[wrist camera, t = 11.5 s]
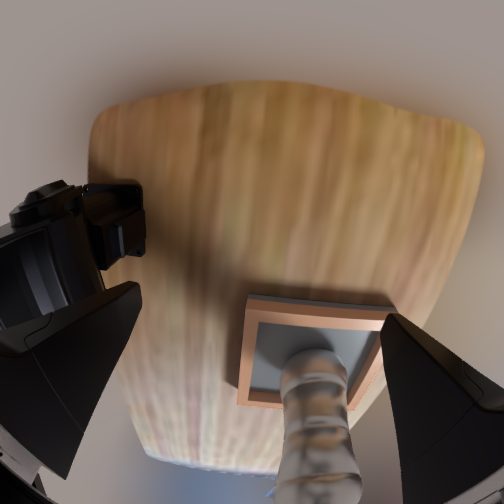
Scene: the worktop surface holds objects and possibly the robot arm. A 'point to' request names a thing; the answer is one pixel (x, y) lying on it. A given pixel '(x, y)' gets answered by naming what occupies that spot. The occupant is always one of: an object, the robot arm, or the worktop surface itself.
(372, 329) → the tray
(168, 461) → the worktop surface
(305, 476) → the silver tall hollow piece
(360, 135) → the worktop surface
